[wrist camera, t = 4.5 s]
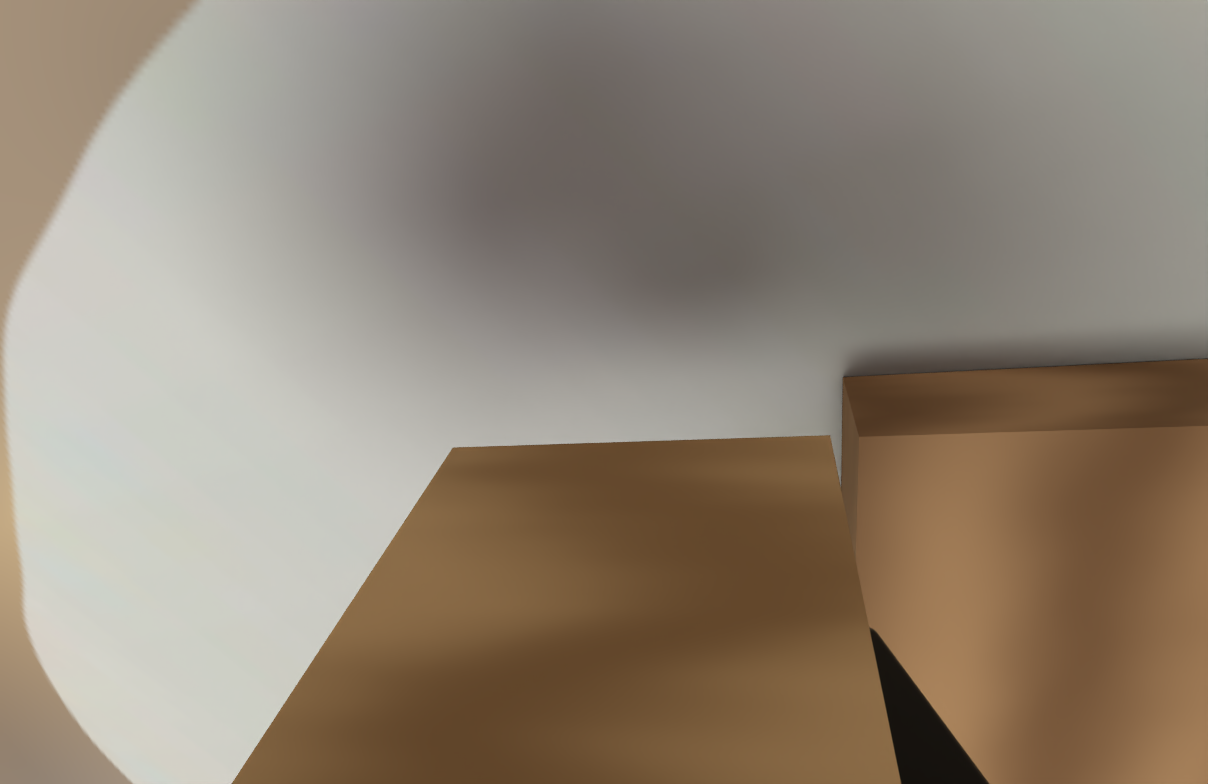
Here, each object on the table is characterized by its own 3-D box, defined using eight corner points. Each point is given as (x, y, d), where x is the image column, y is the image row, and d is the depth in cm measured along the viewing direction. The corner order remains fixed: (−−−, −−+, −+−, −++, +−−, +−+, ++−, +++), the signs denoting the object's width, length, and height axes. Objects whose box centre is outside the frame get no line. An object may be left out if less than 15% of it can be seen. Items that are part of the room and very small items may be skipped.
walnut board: (1386, 349, 16) (1512, 416, 13) (1224, 737, 22) (1286, 832, 20) (842, 376, 19) (858, 436, 16) (838, 715, 25) (849, 797, 22)
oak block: (830, 435, 8) (968, 1116, 3) (828, 705, 11) (908, 1353, 6) (452, 448, 10) (110, 968, 4) (526, 690, 12) (357, 1217, 7)
